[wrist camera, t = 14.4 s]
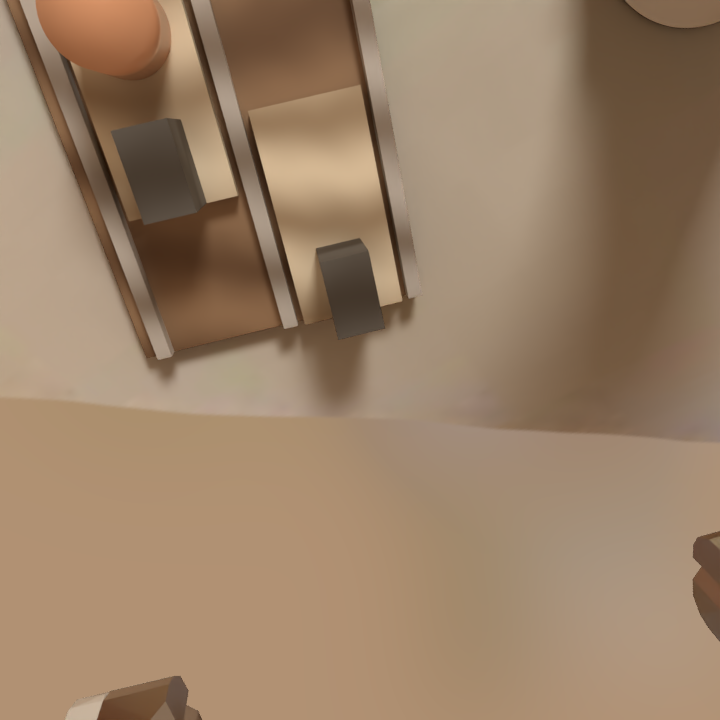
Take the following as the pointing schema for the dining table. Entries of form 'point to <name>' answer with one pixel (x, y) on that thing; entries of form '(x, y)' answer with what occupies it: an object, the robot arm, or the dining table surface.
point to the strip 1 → (161, 131)
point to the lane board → (253, 204)
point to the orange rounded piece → (109, 34)
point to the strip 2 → (329, 208)
